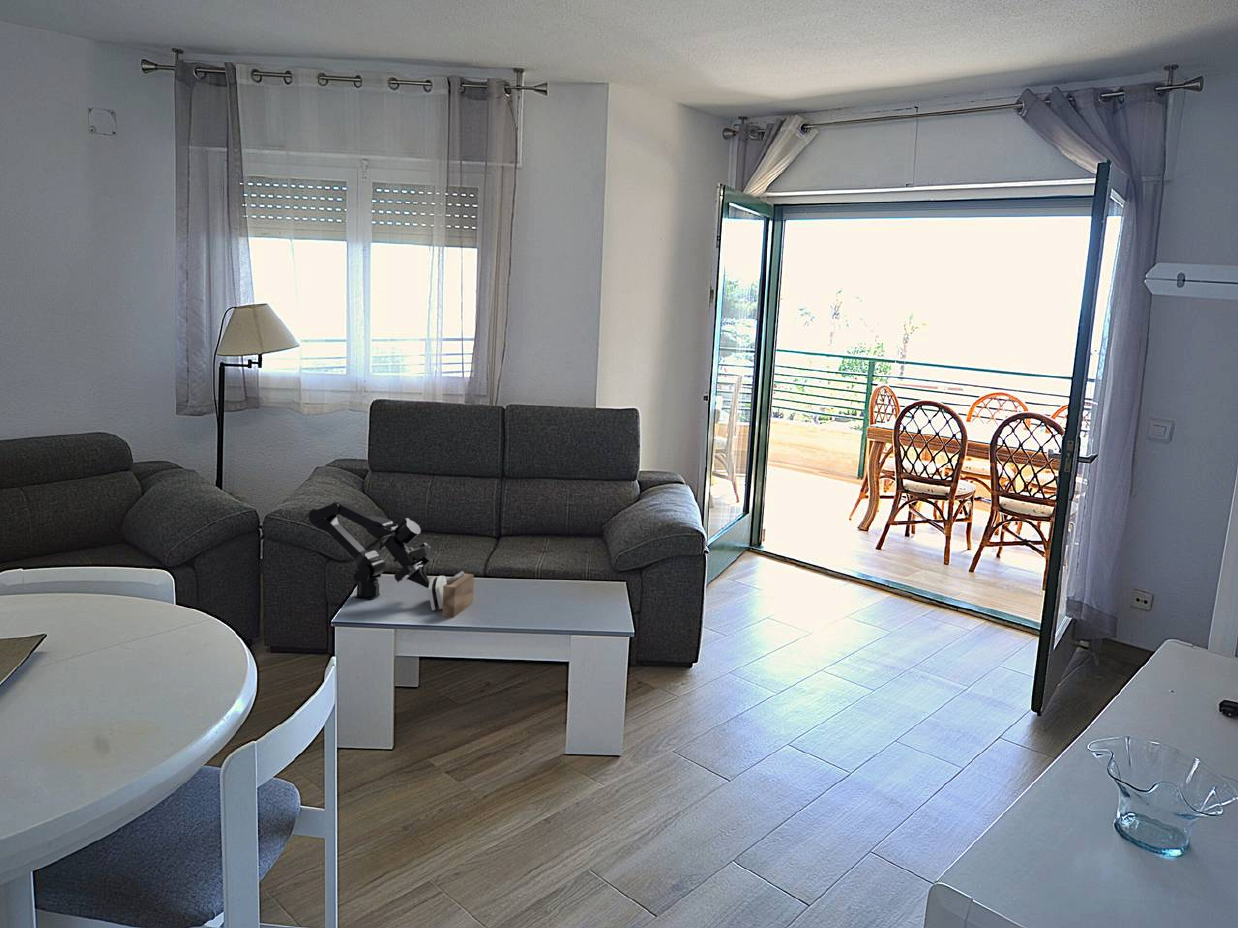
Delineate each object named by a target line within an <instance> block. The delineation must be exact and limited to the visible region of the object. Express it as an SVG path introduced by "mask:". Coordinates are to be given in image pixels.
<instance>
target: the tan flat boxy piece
mask: <svg viewBox="0 0 1238 928" xmlns="http://www.w3.org/2000/svg"><path fill="white" fill-rule="evenodd" d="M474 576H475V575H474V574H471V573H465V572H464V571H462V570H461V571H459V572H458V573H457V574H454V576H452V577H450V578H448V580H447V579H446V581H447V582H446V583H447V584H446V585H444V586H443V608H442V615H441V616H443V617H450V618H455V617H456V616H458V615H459V614H460V613H461V612H463V611H464V610H465V609H467V608H468V607H469V606H471V605H473V603H474V579H475V578H474Z"/></svg>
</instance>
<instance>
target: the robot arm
mask: <svg viewBox="0 0 1238 928" xmlns="http://www.w3.org/2000/svg"><path fill="white" fill-rule="evenodd" d="M337 516H341V517H343V518H345V519H347V520H348V521H350V522H352V523H355V524H357V525H359V526H361V527H363V528H364V529H365V531H366V532H367V533H368V534H370V535H371V536H372V537H373V538H374V539H378V540H380V539H382V540H380V541H379V547H378V549H379V550H380V551H382V550H383V549H386V550H387V551H388V552H389V554H390V555H391V556H392V557H393V562H394V563H398V565H399V566H400V567H401V568H400V569H398V571H397V572H396V573H394V577H393V578H394V579H395V580H396V582H397V583H400V582H401V581H403V579H404V578H405V577H407V576H408V577H407V578H406V580H407V581H411V582H413V583H415V584H418V585H420V586H423V587H424V588H427V589H428V587H429V583H430V580H429V578H428V575H427V572H426V568H427V566H428V565H427V564H428V563H430V562H431V561H432V560H433V557H432V556H431V554H432V552H431V549H432V547H431V546H430V545H429V544H428V543H427V542H423V543H421V544H419V547H418V548H416V549H414V548H413V547H411V546H410V547H408V544H410V543H411V542H412V541H413V540H414V539H415V538H416V537H417V536H419V534H421V531H422V529H421V528H420V525H419V523H416V522H415V521H413V520H411V519H410V518H409V517H406V518H404V519H403V520H402V521H401V522H400V523H399V524H398V523H395V522H393V520H392V519H390V518H389V519H388V518H386V517H380V516H375V515H371V514H369V513H367V512H366V511H363V510H361V509H359V508H357V507H355V506H353V505H351V504H350V503H347V502H346V500H337V501H335V502H333V503H331V504H328V505H326V506H325V505H324V506H320V507H316V508H313V509H311V510H310V511H309V513H308V516H307V517H308V519H307V520H308V522H309V523H310V524H311V525H312V526H313V527H315V528H317V530H320V531H323V532H326V533H327V534H328V535H329V536H330V537H331V538H332V539H333V540H334V541H335V542H336V543H337V544H338V545H339V546H340V547H341V548H342V549H343V550H344V551H345V552H346V553H347V554H348V555H349V556H350V557H351V558H352V559H354V561H355V565H356V568H357V571H355V573H353V580H354V582H356V595H354V598H355V599H362V600H374V599H375V598H377V597H379V596H380V595H381V593H380V583H379V579H378V578H381V577H382V573H384V571H385V570H386V562H385V561H384V557H383V556H381V555H380V554H379V553H378V552H377V550H371V551H368V550H367V549H366V548H364V547H363V546H362V545H361V544H360V542H358V541H357V539H355V538H354V537H353V536H352V534H350V533H349V532H348V531H347V530H346V529H345V527H343V526H342V525H341V524H340V523H339V519H338V517H337ZM393 534H394V535H393ZM386 537H387V538H386ZM383 538H386V539H385V540H384V539H383ZM406 544H407V545H406ZM379 550H378V551H379Z"/></svg>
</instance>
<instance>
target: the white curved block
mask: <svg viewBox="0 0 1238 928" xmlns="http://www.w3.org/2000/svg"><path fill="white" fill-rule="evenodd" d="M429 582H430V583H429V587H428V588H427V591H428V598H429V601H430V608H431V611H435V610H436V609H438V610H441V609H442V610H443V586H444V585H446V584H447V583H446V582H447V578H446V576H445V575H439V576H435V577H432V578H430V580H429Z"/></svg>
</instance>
